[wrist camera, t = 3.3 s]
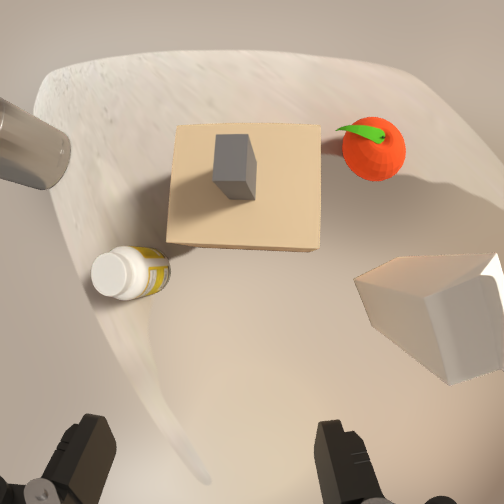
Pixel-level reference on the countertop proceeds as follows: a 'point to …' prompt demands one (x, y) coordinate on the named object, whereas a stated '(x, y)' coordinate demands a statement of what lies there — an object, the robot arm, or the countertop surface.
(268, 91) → the countertop surface
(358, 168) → the clementine
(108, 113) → the countertop surface
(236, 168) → the lid
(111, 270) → the supplement bottle
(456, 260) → the milk
